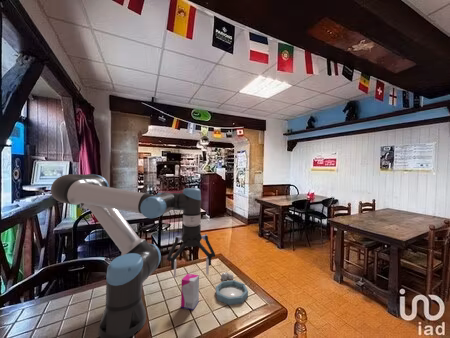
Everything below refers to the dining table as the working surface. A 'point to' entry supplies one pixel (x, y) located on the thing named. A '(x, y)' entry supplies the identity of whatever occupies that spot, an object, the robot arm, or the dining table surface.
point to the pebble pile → (226, 276)
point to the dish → (231, 292)
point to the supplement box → (190, 291)
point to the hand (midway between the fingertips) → (191, 274)
